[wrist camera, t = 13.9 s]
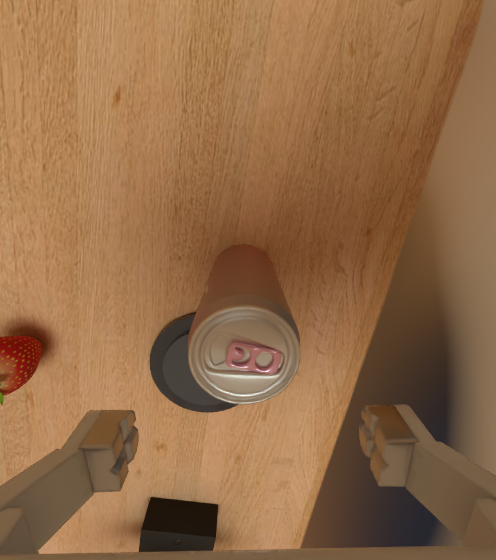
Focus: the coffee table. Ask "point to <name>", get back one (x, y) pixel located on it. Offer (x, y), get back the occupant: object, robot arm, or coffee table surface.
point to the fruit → (17, 362)
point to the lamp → (178, 526)
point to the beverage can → (243, 330)
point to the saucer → (180, 369)
